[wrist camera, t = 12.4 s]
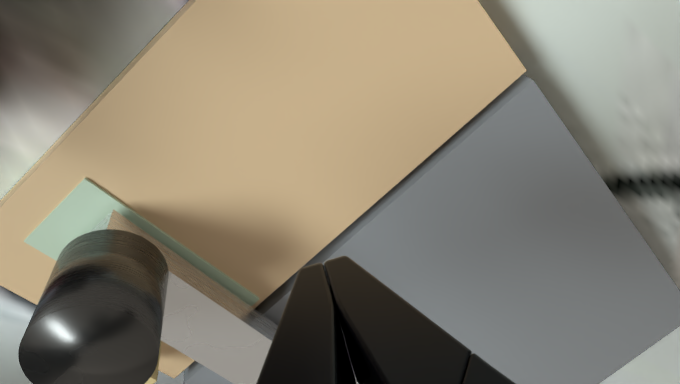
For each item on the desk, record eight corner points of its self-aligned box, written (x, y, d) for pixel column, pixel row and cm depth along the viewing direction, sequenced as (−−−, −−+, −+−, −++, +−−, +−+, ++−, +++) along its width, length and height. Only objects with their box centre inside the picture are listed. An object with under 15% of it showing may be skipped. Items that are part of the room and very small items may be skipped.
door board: (409, 479, 26) (435, 555, 23) (-26, 228, 16) (-84, 306, 13) (668, 289, 24) (736, 349, 21) (343, -165, 13) (383, -184, 10)
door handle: (385, 381, 20) (422, 485, 16) (322, 430, 21) (344, 540, 17) (116, 184, 14) (83, 277, 11) (38, 259, 15) (-17, 371, 11)
